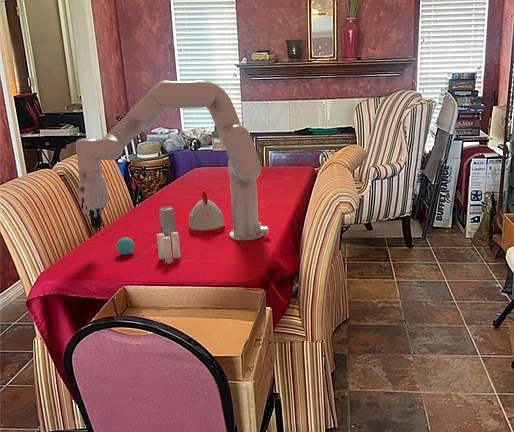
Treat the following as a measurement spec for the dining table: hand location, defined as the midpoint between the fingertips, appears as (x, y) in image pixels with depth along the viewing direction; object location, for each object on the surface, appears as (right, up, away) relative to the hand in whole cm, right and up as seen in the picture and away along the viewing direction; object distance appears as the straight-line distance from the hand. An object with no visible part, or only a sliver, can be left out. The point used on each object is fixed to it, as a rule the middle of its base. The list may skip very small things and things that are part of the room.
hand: (96, 227), depth 193 cm
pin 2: (+29, -10, -5) cm, 31 cm away
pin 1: (+27, -12, -10) cm, 31 cm away
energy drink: (+23, -5, +14) cm, 27 cm away
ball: (+10, -7, -1) cm, 12 cm away
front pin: (+24, -11, -6) cm, 27 cm away
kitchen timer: (+36, -1, +25) cm, 44 cm away
